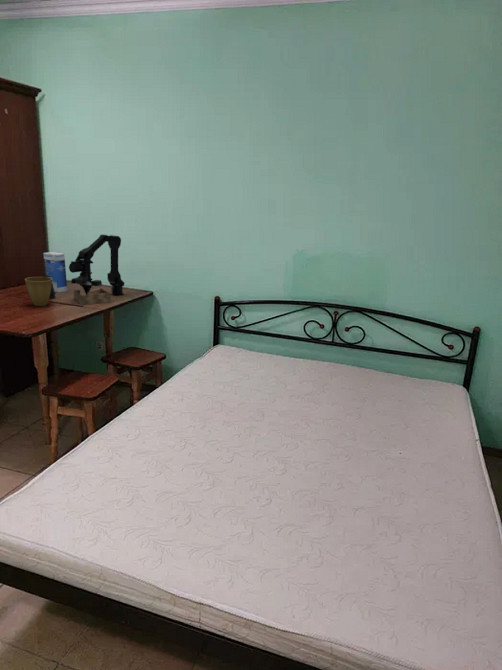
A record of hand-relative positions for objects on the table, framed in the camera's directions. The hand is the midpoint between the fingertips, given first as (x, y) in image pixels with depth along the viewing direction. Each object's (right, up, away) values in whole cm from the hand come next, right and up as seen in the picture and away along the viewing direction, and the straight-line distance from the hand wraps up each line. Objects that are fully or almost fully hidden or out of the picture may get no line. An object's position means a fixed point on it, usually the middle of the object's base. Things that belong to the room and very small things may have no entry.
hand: (87, 295), depth 299 cm
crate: (+3, -4, 0) cm, 5 cm away
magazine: (-29, -2, +2) cm, 29 cm away
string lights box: (-29, +5, +24) cm, 39 cm away
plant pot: (-23, -7, -14) cm, 28 cm away
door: (+3, -2, +5) cm, 6 cm away
